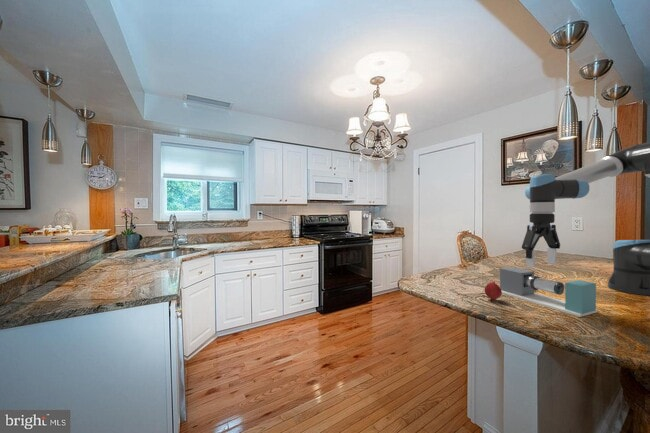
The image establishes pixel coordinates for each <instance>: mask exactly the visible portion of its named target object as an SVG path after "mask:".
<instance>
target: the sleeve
mask: <svg viewBox="0 0 650 433" xmlns="http://www.w3.org/2000/svg"><path fill="white" fill-rule="evenodd" d="M524 275H528V276H532V277H533V276H535V271H534V270H529V269H523V268H519V267H514V266H510V267H509V266H508V267H502V268H499V287H500V289H501V290H502V291H505V292H509V293H512V294H516V295H519V296H526V295H531V294H534V293H535V290H534V289H532V288H531V287H527V286H524Z"/></svg>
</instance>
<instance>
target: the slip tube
mask: <svg viewBox="0 0 650 433" xmlns="http://www.w3.org/2000/svg"><path fill="white" fill-rule="evenodd" d="M524 286H527V287H531V288H532V289H534V291H538V290H540V291H544V292H548V293H551V294H555V295H559V296H561V295H562V294H564V293H565V285H564V283H563V282H562V281H561V282H559V281H555V280H550V279H547V278H546V279H545V278H541V277H540V276H538V275H537V276H536V275H534V276H533V277H532V276H528V275H524Z"/></svg>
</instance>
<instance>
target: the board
mask: <svg viewBox="0 0 650 433" xmlns="http://www.w3.org/2000/svg"><path fill="white" fill-rule="evenodd" d="M501 291H502V290H501ZM502 294H503V295H506V296H510V297H513V298H516V299H519V300H522V301H526V302H529V303H532V304H536V305H539V306H543V307H545V308H549V309H553V310H556V311H559V312H562V313H564V314H565V313H566V314H569V315H572V316H575V317H580V318H581V317H584V316H588V315H592V314H595V313H596V314H597V313H598V312H599V310H598V309H596V310H595V311H592V312H588V313H584V314H580V313H576V312H573V311H570V310H566V309H565V300H561V299H557V298H554V297H550V296H547V295H544V294H539V293H535V292H534V294H531V295H526V296H519V295H516V294H512V293H509V292H505V291H502Z"/></svg>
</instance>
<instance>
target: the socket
mask: <svg viewBox="0 0 650 433" xmlns="http://www.w3.org/2000/svg"><path fill="white" fill-rule="evenodd" d="M564 293H565V295H564V297H565V300H564V301H565V309H566V310H570V311H573V312H576V313H580V314H584V313H588V312H592V311H595V310H597V282H592V281H586V280H581V279H577V280H572V281H567V282H565V285H564Z"/></svg>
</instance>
